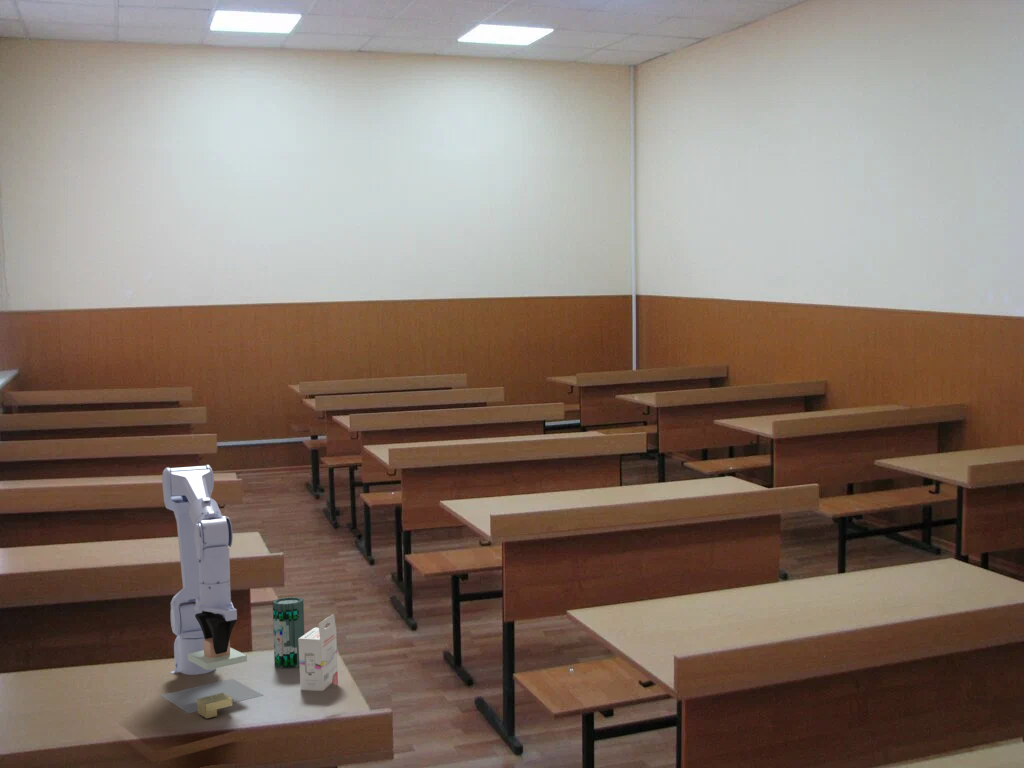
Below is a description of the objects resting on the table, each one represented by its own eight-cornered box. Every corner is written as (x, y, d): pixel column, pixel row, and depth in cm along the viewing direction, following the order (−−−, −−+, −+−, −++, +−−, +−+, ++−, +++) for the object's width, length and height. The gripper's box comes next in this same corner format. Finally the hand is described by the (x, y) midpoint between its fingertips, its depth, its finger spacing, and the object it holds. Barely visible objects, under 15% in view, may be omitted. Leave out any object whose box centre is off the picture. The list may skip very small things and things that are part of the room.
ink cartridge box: (315, 683, 219) (313, 612, 218) (338, 684, 218) (336, 612, 217) (299, 697, 210) (296, 623, 210) (322, 698, 209) (320, 623, 209)
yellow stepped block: (197, 712, 197) (197, 698, 197) (223, 706, 200) (222, 692, 200) (206, 718, 194) (206, 704, 194) (232, 711, 197) (232, 697, 197)
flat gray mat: (160, 702, 209) (159, 695, 209) (232, 685, 218) (232, 678, 218) (188, 721, 198) (188, 713, 198) (263, 702, 207) (263, 695, 207)
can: (269, 672, 227) (267, 601, 226) (291, 664, 232) (289, 596, 231) (288, 677, 223) (286, 605, 223) (310, 669, 228) (308, 599, 228)
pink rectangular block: (188, 659, 209) (187, 638, 208) (226, 651, 214) (226, 630, 213) (207, 670, 202) (206, 648, 201) (246, 661, 207) (246, 639, 206)
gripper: (179, 578, 210) (182, 647, 211) (210, 590, 199) (213, 663, 199) (214, 572, 215) (216, 640, 215) (246, 584, 203) (248, 655, 204)
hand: (217, 650), depth 208 cm, fingers closed on pink rectangular block, 3 cm apart
